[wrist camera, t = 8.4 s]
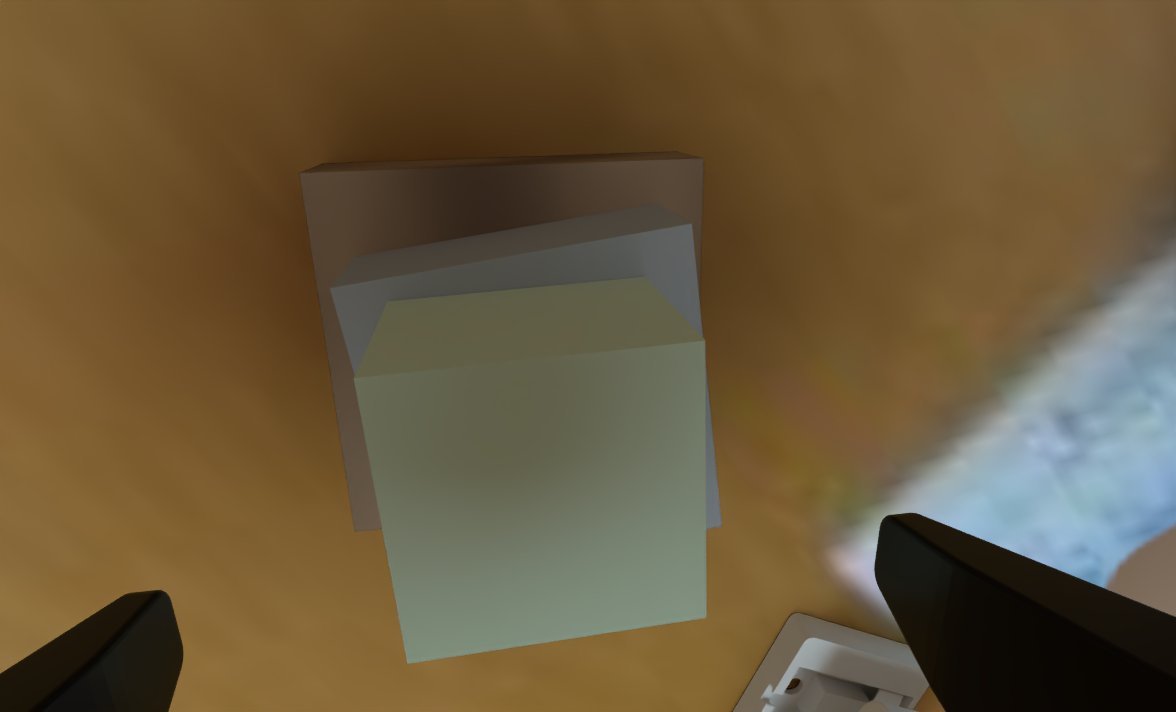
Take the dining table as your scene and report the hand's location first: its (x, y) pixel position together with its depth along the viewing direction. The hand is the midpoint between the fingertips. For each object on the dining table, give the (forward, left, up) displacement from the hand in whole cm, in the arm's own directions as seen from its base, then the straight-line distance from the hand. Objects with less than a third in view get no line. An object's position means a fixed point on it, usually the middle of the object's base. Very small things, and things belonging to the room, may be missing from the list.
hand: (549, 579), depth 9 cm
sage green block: (0, 0, -6) cm, 6 cm away
